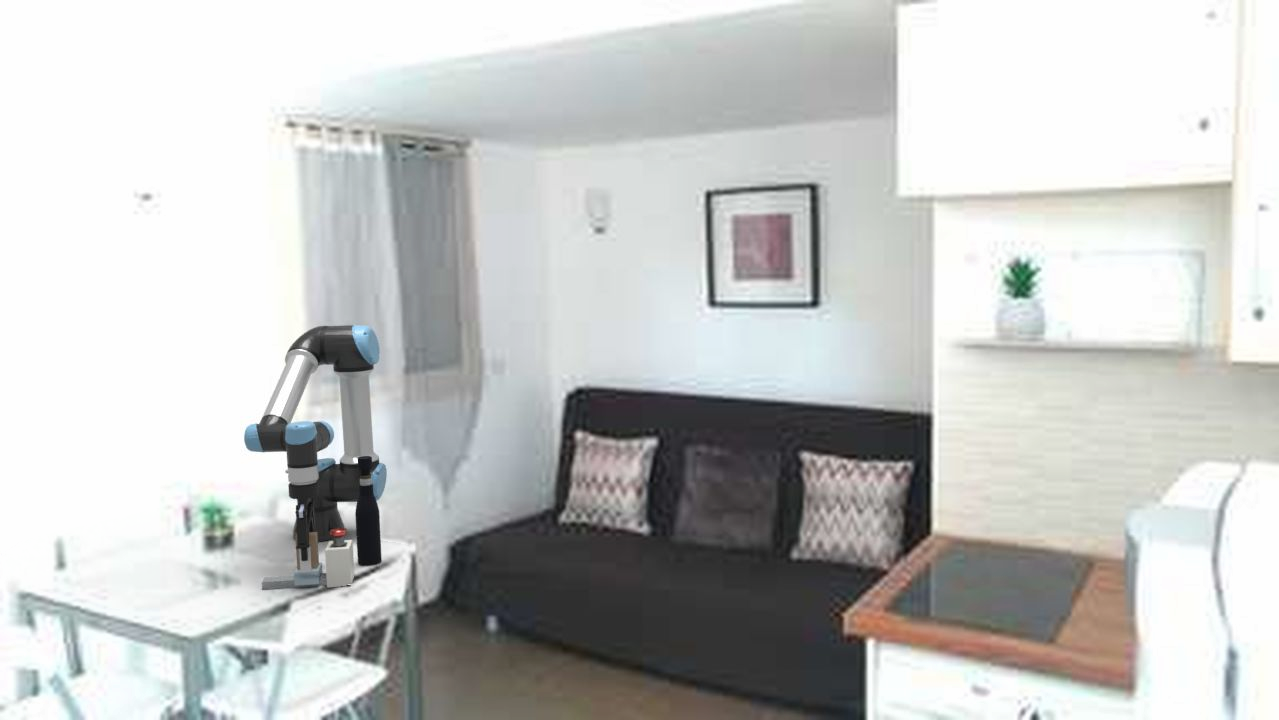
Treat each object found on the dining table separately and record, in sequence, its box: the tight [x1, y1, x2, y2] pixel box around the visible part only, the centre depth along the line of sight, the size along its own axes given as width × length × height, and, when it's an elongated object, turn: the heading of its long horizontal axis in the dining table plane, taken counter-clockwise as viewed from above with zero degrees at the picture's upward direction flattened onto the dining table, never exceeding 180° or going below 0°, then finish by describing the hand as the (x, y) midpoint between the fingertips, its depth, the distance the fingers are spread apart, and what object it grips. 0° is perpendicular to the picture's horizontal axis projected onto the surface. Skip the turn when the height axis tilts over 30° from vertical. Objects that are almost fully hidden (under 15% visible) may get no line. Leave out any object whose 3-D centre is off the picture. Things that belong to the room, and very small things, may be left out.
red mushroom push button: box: [330, 527, 347, 547], centre depth 259 cm, size 4×4×7 cm
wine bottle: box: [354, 456, 383, 567], centre depth 274 cm, size 6×6×30 cm
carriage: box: [293, 532, 324, 586], centre depth 258 cm, size 7×6×12 cm
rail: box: [261, 572, 327, 590], centre depth 258 cm, size 4×16×2 cm, turn 100°
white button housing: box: [324, 539, 355, 589], centre depth 259 cm, size 8×6×10 cm
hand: (308, 567), depth 258 cm, fingers closed on carriage, 7 cm apart
